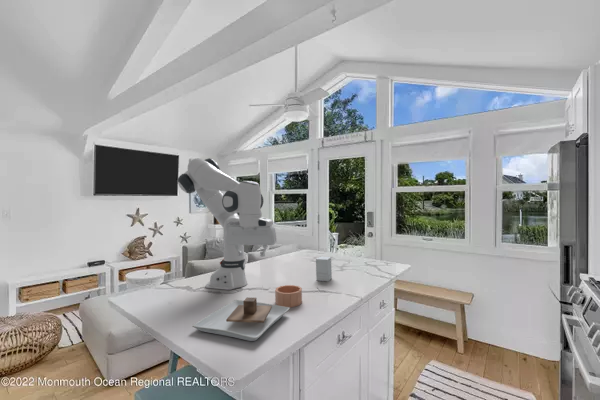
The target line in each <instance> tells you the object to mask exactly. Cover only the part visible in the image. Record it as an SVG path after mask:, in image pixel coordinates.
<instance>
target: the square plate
mask: <svg viewBox="0 0 600 400" xmlns="http://www.w3.org/2000/svg"><path fill="white" fill-rule="evenodd" d="M243 301H244V300H239V299H236V300H232V301H231V302H229V303H228V304H225V305H224V306H221V307H220V308H218V309H217V310H215V311H213V312H211V313H210V314H209V315H207V316H205V317H203V318H202V319H201V320H199V321H197V322H195V323H193V324H192V328H195V329H196V330H198V331H201V332H205V333H209V334H214V335H220V336H225V337H231V338H236V339H240V340H244V341H249V342H255V341H257V340H258V339H259V338H260V337H262V336H263V335H264V333H265V332H267V330H268V329H270V328H271V326H273V325H274V324H275V323H276V322H278V321H279V319H282V317H283V316H285V314H286V313H287V312H288V311H289V310H290V309H291V307H284V306H278V305H277V304H271V303H265V302H258V301H257V305H259V306H272V308H271V310H270V312H269V314H268V316H267V318H266V319H265V321H264V323H256V322H226V319H227V318H228V317H229V316H230V315H231V313H232V312H233V311H234V310H235V309H236V308H237V306H238V305H244V302H243Z"/></svg>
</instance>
